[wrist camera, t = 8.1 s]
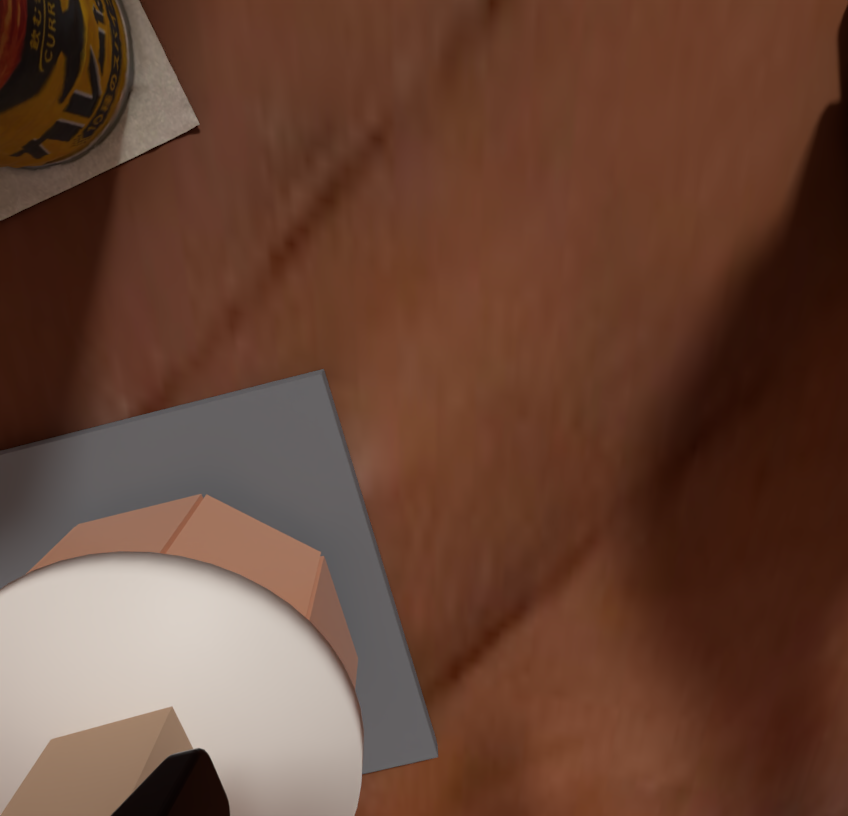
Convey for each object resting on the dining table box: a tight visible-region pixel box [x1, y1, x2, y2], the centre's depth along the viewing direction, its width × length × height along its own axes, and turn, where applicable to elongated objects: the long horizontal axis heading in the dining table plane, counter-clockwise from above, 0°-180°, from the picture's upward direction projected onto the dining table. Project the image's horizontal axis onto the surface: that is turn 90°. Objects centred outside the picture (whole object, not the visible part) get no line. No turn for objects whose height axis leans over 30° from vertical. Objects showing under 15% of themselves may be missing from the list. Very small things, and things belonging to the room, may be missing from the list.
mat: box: [0, 369, 438, 774], centre depth 21 cm, size 12×14×1 cm
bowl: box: [26, 494, 358, 688], centre depth 19 cm, size 9×9×5 cm
